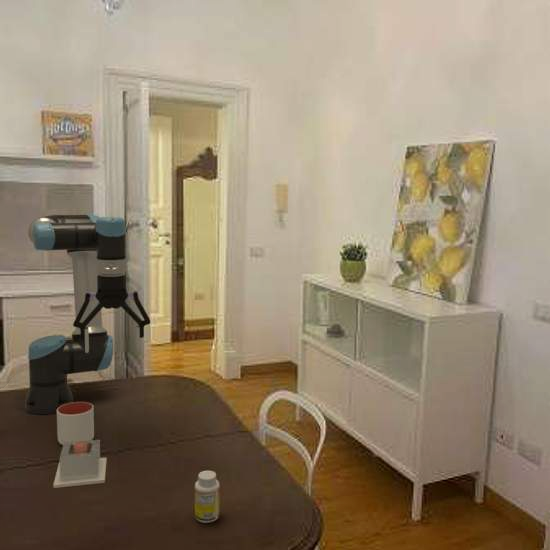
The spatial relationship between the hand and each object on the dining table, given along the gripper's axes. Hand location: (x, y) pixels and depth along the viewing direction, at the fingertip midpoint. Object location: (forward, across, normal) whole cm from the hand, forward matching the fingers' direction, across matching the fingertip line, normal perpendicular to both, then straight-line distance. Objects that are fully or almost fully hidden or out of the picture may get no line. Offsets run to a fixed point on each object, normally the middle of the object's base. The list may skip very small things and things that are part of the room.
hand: (113, 350), depth 152 cm
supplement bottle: (+29, +21, -39) cm, 53 cm away
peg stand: (+29, -8, -13) cm, 33 cm away
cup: (+29, -11, +7) cm, 32 cm away
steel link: (+28, -8, -13) cm, 32 cm away
